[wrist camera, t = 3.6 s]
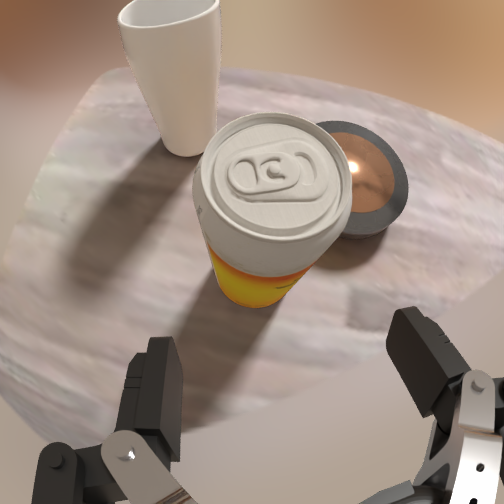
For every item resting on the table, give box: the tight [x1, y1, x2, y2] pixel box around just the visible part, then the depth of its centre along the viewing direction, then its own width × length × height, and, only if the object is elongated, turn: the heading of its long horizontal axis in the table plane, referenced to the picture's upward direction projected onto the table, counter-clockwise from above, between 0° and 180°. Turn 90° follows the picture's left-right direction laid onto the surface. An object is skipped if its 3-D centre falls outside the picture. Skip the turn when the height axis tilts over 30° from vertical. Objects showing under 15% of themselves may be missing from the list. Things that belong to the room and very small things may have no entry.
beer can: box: [192, 112, 352, 308], centre depth 17 cm, size 6×6×15 cm
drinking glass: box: [117, 0, 222, 157], centre depth 21 cm, size 7×7×15 cm
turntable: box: [316, 121, 408, 239], centre depth 25 cm, size 11×11×2 cm
